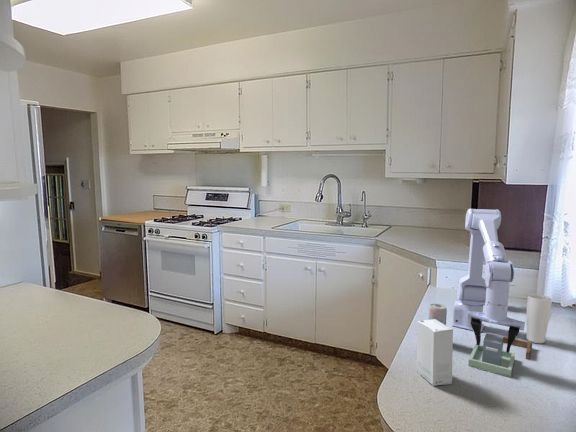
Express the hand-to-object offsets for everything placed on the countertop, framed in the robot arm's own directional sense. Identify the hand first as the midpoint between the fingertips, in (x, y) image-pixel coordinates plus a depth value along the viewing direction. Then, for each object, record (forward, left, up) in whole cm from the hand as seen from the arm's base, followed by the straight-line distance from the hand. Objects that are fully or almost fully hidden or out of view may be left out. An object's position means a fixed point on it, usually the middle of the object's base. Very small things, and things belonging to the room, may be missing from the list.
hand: (492, 347), depth 112 cm
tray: (0, 0, -5) cm, 5 cm away
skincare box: (-12, -19, -5) cm, 23 cm away
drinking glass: (+10, +26, -5) cm, 28 cm away
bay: (+3, +13, -5) cm, 14 cm away
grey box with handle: (0, 0, -4) cm, 4 cm away
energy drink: (-17, +5, -5) cm, 18 cm away
